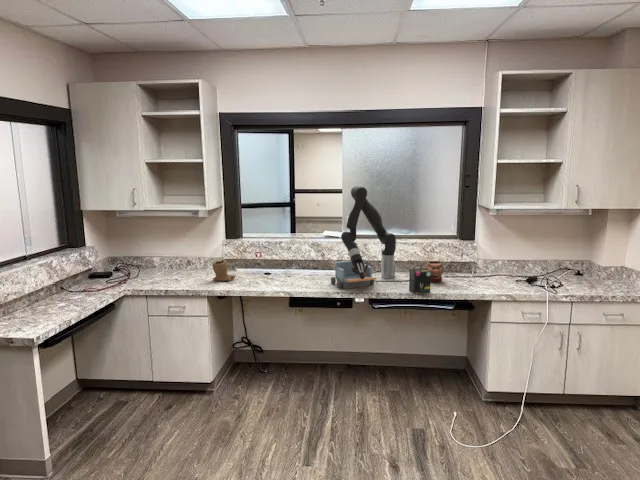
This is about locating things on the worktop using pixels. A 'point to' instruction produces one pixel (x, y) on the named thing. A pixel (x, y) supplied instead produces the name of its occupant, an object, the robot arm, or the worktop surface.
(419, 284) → the tampon box
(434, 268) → the decorative planter
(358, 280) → the panel
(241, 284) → the worktop surface
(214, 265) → the brown boot
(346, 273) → the pickup bed
